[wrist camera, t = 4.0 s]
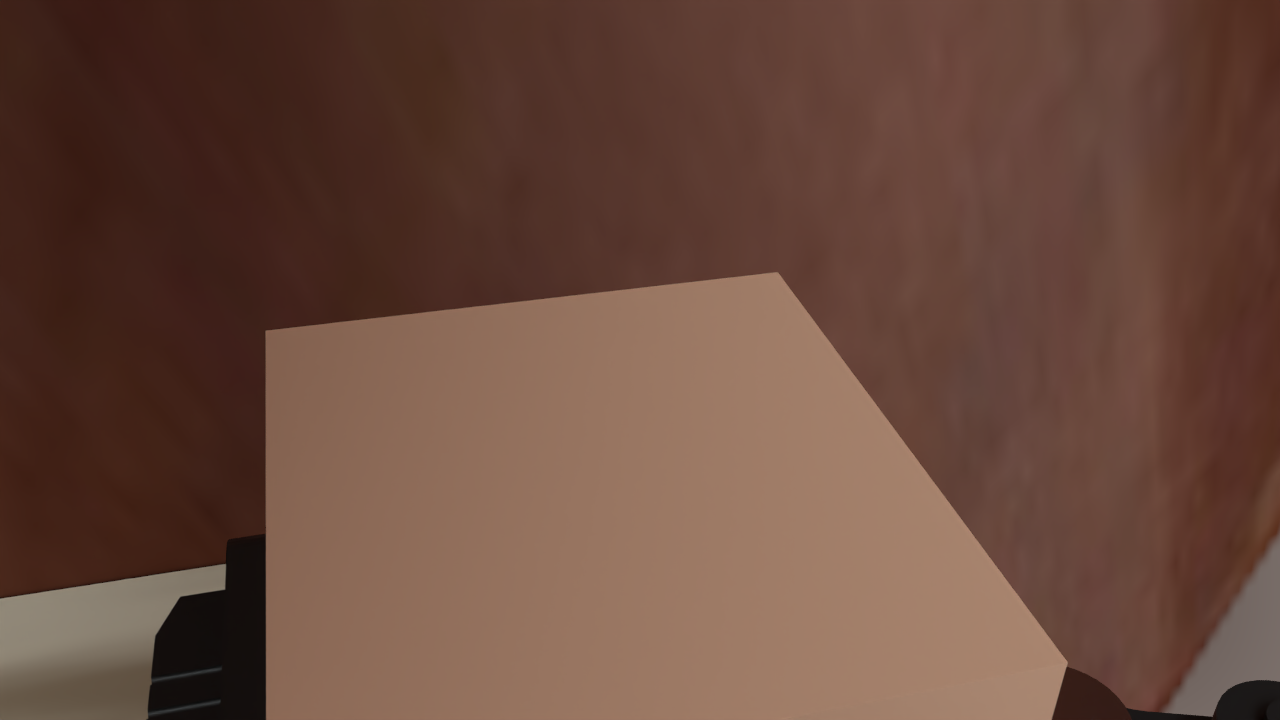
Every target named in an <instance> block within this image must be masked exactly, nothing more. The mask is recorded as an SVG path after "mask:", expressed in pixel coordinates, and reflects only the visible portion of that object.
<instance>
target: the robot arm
mask: <svg viewBox="0 0 1280 720" xmlns="http://www.w3.org/2000/svg"><path fill="white" fill-rule="evenodd" d="M151 681H152V685H150V690H149V699H148V709H147V711H148V719H146V720H266V534H261V535H255V536H248V537H241V538H235V539H229V540H228V542H227V551H226V576H225V590H219V591H212V592H206V593H200V594H193V595H187V596H181V597H180V598H179V599H178V601H177V602H176V604H175V606H174V607H173V609H172V610H171V612H170V613H169V615H168V616H167V618H166V620H165V621H164V623H163V624H162V626H161V627H160V629H159V631H158V632H157V634H156V635H155V642H154V651H153V661H152V671H151ZM1052 720H1280V682H1277V681H1269V680H1268V681H1267V680H1265V681H1264V680H1256V681H1249V682H1244V683H1241V684H1238V685H1235V686H1233V687H1232V688H1230V689H1228V690H1227V691H1226V692H1225V693H1224V694H1223V695H1222V697H1221V698H1220V700H1219V702H1218V704H1217V707H1216V709H1215V712H1214V715H1213V717H1208V716H1196V715H1183V714H1171V713H1159V712H1147V711H1139V710H1132V709H1128V708H1126V707H1125V705H1124V704H1123V703H1122V702H1121V701H1120V699H1119V698H1118V697H1117V696H1116V695H1115V694H1114V693H1113V692H1112V691H1111V690H1110V689H1109V688H1107V687H1106V686H1105V685H1103V684H1102V683H1100V682H1099V681H1098V680H1096V679H1094V678H1092V677H1090V676H1089V675H1087V674H1085V673H1082V672H1080V671H1077V670H1075V669H1072V668H1069V667H1066V670H1065V674H1064V677H1063V681H1062V684H1061V688H1060V691H1059V695H1058V699H1057V702H1056V706H1055V709H1054V713H1053V716H1052Z"/></svg>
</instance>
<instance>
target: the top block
mask: <svg viewBox="0 0 1280 720" xmlns="http://www.w3.org/2000/svg"><path fill="white" fill-rule="evenodd" d="M1067 663H1068V662H1067V661H1066V660H1065V658H1064V657H1063V656H1062V654H1061V653H1060V652H1059V650H1058V649H1057V647H1056V646H1055V645H1054V643H1053V642H1052V641H1051V639H1050V638H1049V637H1048V635H1047V634H1046V633H1045V631H1044V630H1043V629H1042V627H1041V626H1040V625H1039V623H1038V622H1037V621H1036V619H1035V618H1034V617H1033V615H1032V614H1031V613H1030V611H1029V610H1028V608H1027V607H1026V606H1025V604H1024V603H1023V602H1022V600H1021V599H1020V598H1019V596H1018V595H1017V594H1016V592H1015V591H1014V590H1013V588H1012V587H1011V586H1010V584H1009V583H1008V582H1007V580H1006V579H1005V578H1004V576H1003V575H1002V573H1001V572H1000V571H999V569H998V568H997V567H996V565H995V564H994V563H993V561H992V560H991V559H990V557H989V556H988V555H987V553H986V552H985V551H984V549H983V548H982V547H981V545H980V544H979V543H978V541H977V540H976V538H975V537H974V536H973V534H972V533H971V532H970V530H969V529H968V528H967V526H966V525H965V524H964V522H963V521H962V520H961V518H960V517H959V516H958V514H957V513H956V512H955V510H954V509H953V508H952V506H951V505H950V503H949V502H948V501H947V499H946V498H945V497H944V495H943V494H942V493H941V491H940V490H939V489H938V487H937V486H936V485H935V483H934V482H933V481H932V479H931V478H930V477H929V475H928V474H927V473H926V471H925V470H924V468H923V467H922V466H921V464H920V463H919V462H918V460H917V459H916V458H915V456H914V455H913V454H912V452H911V451H910V450H909V448H908V447H907V446H906V444H905V443H904V442H903V440H902V439H901V438H900V436H899V435H898V433H897V432H896V431H895V429H894V428H893V427H892V425H891V424H890V423H889V421H888V420H887V419H886V417H885V416H884V415H883V413H882V412H881V411H880V409H879V408H878V407H877V405H876V404H875V403H874V401H873V400H872V399H871V397H870V396H869V394H868V393H867V392H866V390H865V389H864V388H863V386H862V385H861V384H860V382H859V381H858V380H857V378H856V377H855V376H854V374H853V373H852V372H851V370H850V369H849V368H848V366H847V365H846V364H845V362H844V361H843V359H842V358H841V357H840V355H839V354H838V353H837V351H836V350H835V349H834V347H833V346H832V345H831V343H830V342H829V341H828V339H827V338H826V337H825V335H824V334H823V333H822V331H821V330H820V329H819V327H818V326H817V324H816V323H815V322H814V320H813V319H812V318H811V316H810V315H809V314H808V312H807V311H806V310H805V308H804V307H803V306H802V304H801V303H800V302H799V300H798V299H797V298H796V296H795V295H794V294H793V292H792V291H791V289H790V288H789V287H788V285H787V284H786V283H785V281H784V280H783V279H782V277H781V276H780V275H779V273H778V272H775V273H767V274H758V275H749V276H740V277H732V278H723V279H714V280H705V281H697V282H688V283H679V284H670V285H662V286H653V287H644V288H635V289H626V290H618V291H609V292H600V293H591V294H583V295H574V296H565V297H556V298H548V299H539V300H530V301H521V302H512V303H504V304H495V305H486V306H477V307H469V308H460V309H451V310H442V311H434V312H425V313H416V314H407V315H399V316H390V317H381V318H372V319H363V320H355V321H346V322H337V323H328V324H320V325H311V326H302V327H293V328H285V329H276V330H267V331H266V720H1052V716H1053V713H1054V709H1055V706H1056V702H1057V699H1058V695H1059V691H1060V688H1061V684H1062V681H1063V677H1064V674H1065V670H1066V667H1067Z"/></svg>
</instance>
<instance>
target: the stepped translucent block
mask: <svg viewBox="0 0 1280 720" xmlns="http://www.w3.org/2000/svg"><path fill="white" fill-rule="evenodd" d="M225 576H226V564H222V565H216V566H209V567H203V568H196V569H190V570H183V571H177V572H170V573H164V574H157V575H151V576H144V577H138V578H131V579H125V580H118V581H112V582H105V583H99V584H92V585H86V586H79V587H73V588H66V589H60V590H53V591H47V592H40V593H34V594H27V595H21V596H14V597H8V598H1V599H0V720H146V719H148V711H147V709H148V699H149V690H150V685H152V681H151V671H152V661H153V651H154V642H155V635H156V634H157V632H158V631H159V629H160V627H161V626H162V624H163V623H164V621H165V620H166V618H167V616H168V615H169V613H170V612H171V610H172V609H173V607H174V606H175V604H176V602H177V601H178V599H179V598H180V597H181V596H187V595H193V594H200V593H206V592H212V591H219V590H225Z"/></svg>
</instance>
